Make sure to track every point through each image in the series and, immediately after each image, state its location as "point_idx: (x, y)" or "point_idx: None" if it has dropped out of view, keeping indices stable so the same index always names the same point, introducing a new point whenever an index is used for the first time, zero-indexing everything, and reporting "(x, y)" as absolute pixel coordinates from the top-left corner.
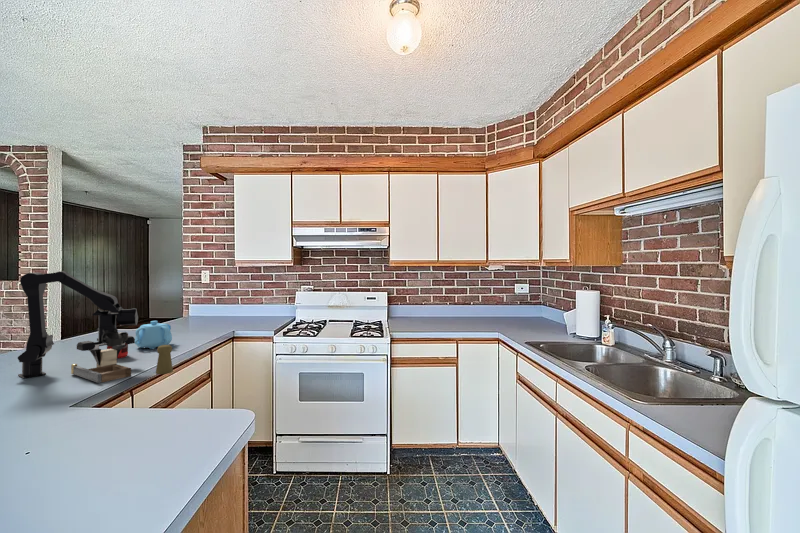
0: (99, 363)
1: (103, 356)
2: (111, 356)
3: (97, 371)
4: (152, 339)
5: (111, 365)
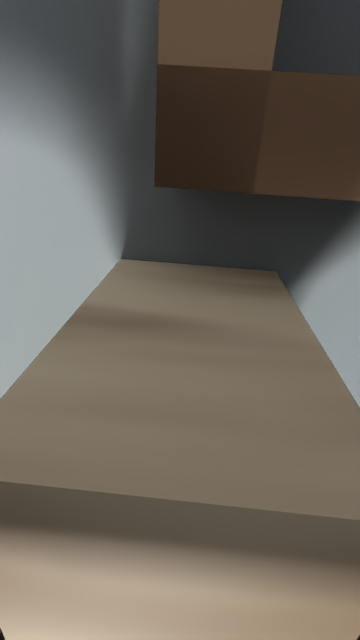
0: None
1: (346, 406)
2: (153, 366)
3: None
4: None
5: (269, 114)
